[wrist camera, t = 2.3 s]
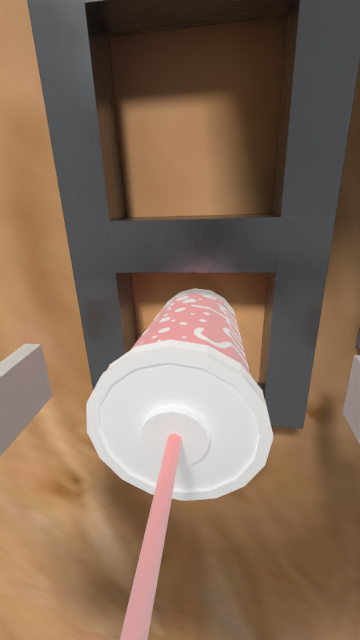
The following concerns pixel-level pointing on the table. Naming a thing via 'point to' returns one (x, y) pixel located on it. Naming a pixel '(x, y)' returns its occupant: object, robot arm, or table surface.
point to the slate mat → (359, 341)
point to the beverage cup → (179, 423)
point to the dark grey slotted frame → (215, 230)
